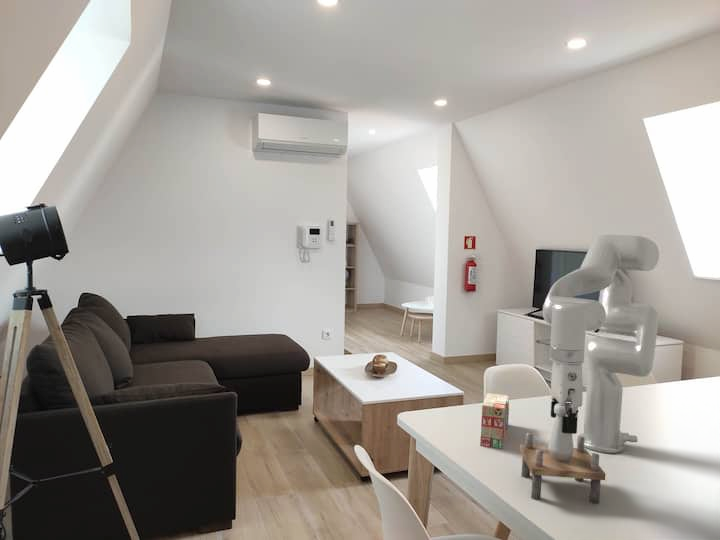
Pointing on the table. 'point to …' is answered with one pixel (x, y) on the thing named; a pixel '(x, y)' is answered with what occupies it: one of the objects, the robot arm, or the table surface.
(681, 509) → the table surface
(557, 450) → the salt shaker
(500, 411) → the stack of blocks
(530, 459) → the shelf
